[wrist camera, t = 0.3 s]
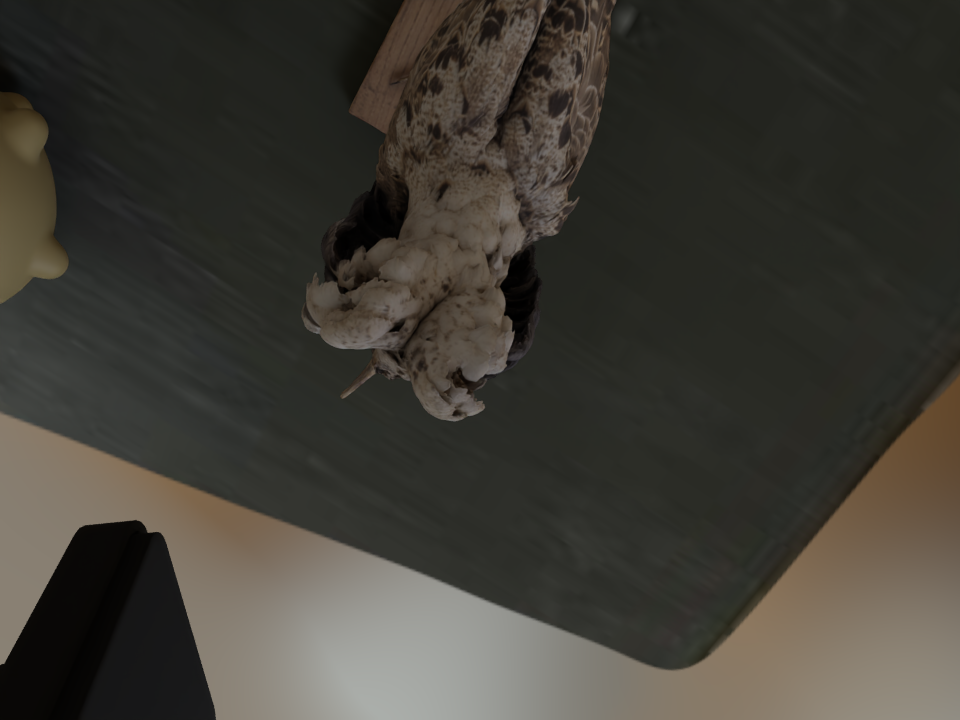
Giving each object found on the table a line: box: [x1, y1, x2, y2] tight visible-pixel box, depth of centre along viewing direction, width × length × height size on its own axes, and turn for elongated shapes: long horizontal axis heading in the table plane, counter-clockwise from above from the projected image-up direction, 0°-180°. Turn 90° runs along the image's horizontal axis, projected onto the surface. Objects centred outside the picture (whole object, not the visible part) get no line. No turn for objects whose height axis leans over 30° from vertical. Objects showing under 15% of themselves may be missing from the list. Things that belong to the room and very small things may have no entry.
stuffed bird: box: [302, 0, 616, 421], centre depth 29 cm, size 10×20×17 cm, turn 168°
